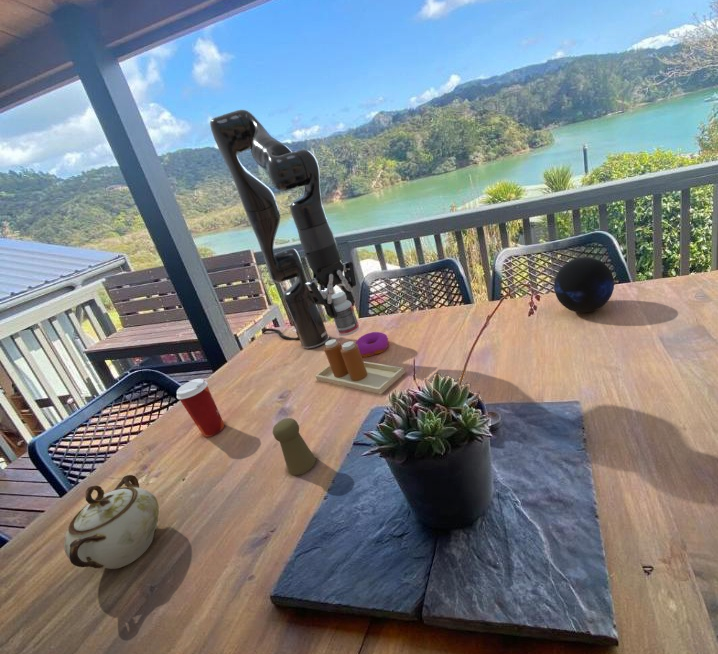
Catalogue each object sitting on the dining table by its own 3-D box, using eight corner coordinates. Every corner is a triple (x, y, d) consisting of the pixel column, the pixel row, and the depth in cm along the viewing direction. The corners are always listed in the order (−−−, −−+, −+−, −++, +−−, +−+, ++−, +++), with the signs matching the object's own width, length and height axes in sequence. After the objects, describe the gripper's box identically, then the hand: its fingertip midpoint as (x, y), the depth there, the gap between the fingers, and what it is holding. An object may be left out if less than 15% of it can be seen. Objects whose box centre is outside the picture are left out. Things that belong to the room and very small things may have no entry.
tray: (317, 381, 124) (314, 375, 124) (341, 363, 131) (339, 357, 130) (381, 395, 108) (379, 389, 107) (405, 374, 115) (403, 367, 114)
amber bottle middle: (347, 379, 119) (335, 347, 115) (358, 370, 123) (347, 339, 119) (359, 382, 116) (347, 349, 112) (370, 372, 120) (360, 340, 116)
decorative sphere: (575, 296, 131) (570, 248, 125) (626, 302, 119) (623, 249, 113) (546, 317, 123) (539, 267, 117) (597, 326, 111) (592, 271, 106)
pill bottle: (363, 329, 106) (351, 292, 102) (344, 338, 104) (331, 301, 100) (353, 324, 111) (342, 289, 107) (335, 333, 108) (322, 297, 104)
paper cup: (234, 419, 117) (211, 376, 111) (216, 439, 110) (191, 393, 105) (211, 421, 119) (188, 378, 114) (192, 440, 113) (167, 395, 107)
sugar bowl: (120, 517, 91) (82, 463, 85) (188, 499, 91) (154, 443, 85) (60, 609, 73) (5, 548, 67) (144, 586, 73) (96, 523, 67)
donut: (356, 361, 129) (351, 348, 127) (359, 346, 139) (355, 334, 137) (390, 353, 128) (385, 340, 127) (390, 339, 138) (386, 326, 136)
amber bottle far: (330, 376, 124) (318, 345, 120) (342, 367, 127) (331, 337, 123) (341, 378, 121) (330, 346, 117) (353, 369, 124) (342, 338, 120)
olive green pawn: (286, 462, 94) (267, 421, 89) (313, 450, 95) (295, 410, 91) (289, 479, 88) (269, 437, 84) (317, 466, 90) (299, 424, 85)
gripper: (331, 235, 106) (352, 298, 112) (285, 256, 96) (310, 324, 103) (352, 233, 101) (372, 299, 107) (305, 255, 91) (331, 326, 98)
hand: (342, 311), depth 105 cm, fingers closed on pill bottle, 5 cm apart
